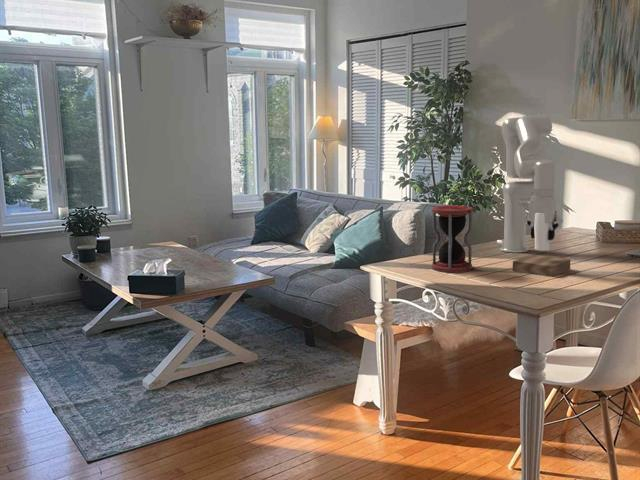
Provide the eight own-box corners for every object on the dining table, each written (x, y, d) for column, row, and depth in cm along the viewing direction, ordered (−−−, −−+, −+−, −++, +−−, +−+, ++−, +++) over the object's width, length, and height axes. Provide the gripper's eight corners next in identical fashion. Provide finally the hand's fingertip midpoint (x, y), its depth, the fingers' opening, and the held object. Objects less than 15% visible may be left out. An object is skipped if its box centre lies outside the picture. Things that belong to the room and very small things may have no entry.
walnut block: (512, 270, 248) (512, 260, 248) (532, 264, 259) (532, 254, 259) (551, 276, 237) (551, 266, 236) (570, 269, 248) (570, 259, 247)
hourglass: (470, 273, 246) (471, 210, 241) (428, 271, 251) (429, 209, 246) (473, 265, 261) (474, 205, 256) (434, 263, 266) (435, 204, 261)
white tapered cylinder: (550, 248, 249) (552, 211, 246) (551, 252, 242) (552, 213, 240) (532, 248, 251) (534, 211, 248) (532, 251, 245) (533, 213, 242)
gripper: (518, 192, 246) (517, 237, 250) (561, 195, 234) (559, 242, 237) (527, 191, 252) (526, 235, 255) (570, 193, 239) (568, 239, 242)
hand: (542, 238), depth 246 cm, fingers closed on white tapered cylinder, 6 cm apart
